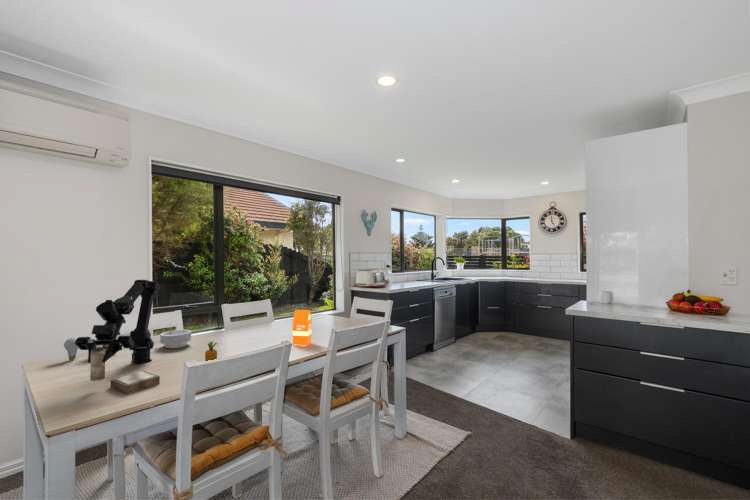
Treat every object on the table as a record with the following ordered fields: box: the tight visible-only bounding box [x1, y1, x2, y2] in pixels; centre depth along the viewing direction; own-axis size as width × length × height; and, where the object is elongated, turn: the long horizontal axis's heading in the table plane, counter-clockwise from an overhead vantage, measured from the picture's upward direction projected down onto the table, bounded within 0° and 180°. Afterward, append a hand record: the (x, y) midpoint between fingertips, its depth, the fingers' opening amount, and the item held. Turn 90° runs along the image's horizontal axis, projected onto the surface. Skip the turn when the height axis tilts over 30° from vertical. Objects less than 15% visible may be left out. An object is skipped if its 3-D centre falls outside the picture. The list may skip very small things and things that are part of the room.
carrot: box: [204, 341, 218, 361], centre depth 150 cm, size 5×5×15 cm
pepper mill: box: [89, 347, 106, 382], centre depth 134 cm, size 4×4×12 cm
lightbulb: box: [63, 337, 79, 361], centre depth 168 cm, size 6×6×11 cm
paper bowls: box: [159, 329, 192, 349], centre depth 194 cm, size 15×15×8 cm
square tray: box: [110, 370, 161, 395], centre depth 138 cm, size 12×12×3 cm
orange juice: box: [292, 309, 312, 346], centre depth 201 cm, size 8×9×20 cm
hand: (96, 362), depth 133 cm, fingers closed on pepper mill, 4 cm apart
